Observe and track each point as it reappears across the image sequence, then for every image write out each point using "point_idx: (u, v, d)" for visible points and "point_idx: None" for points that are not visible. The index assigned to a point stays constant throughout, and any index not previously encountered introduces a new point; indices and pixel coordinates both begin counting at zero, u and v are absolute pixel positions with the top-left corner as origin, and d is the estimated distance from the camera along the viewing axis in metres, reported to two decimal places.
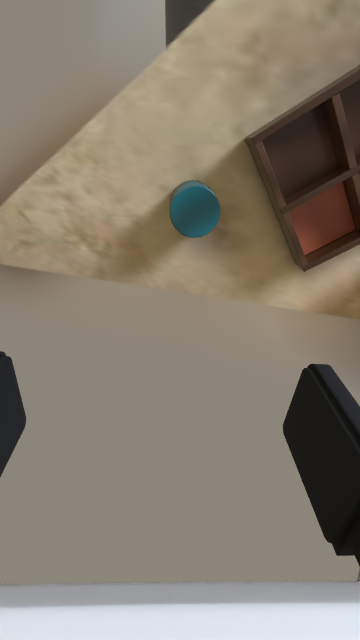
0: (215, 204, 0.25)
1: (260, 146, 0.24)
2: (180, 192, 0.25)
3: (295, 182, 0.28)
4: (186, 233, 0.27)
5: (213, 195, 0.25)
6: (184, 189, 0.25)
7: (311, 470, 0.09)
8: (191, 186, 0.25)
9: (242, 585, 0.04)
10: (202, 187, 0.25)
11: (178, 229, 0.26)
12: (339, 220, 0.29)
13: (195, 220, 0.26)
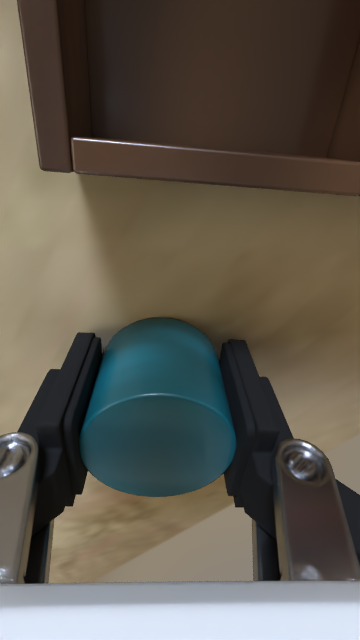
0: (172, 405, 0.07)
1: (87, 153, 0.06)
2: (83, 457, 0.08)
3: (318, 55, 0.07)
4: (193, 486, 0.09)
5: (143, 399, 0.07)
6: (81, 447, 0.08)
7: None
8: (83, 430, 0.08)
9: (242, 585, 0.04)
10: (101, 411, 0.07)
11: (172, 494, 0.09)
12: None
13: (178, 459, 0.08)
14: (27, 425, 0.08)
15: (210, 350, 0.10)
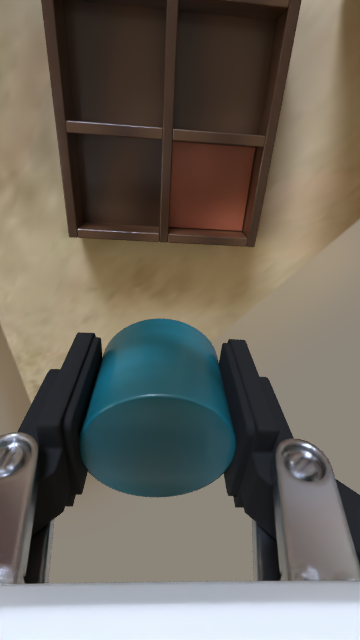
0: (172, 406, 0.07)
1: (81, 232, 0.21)
2: (83, 458, 0.08)
3: (149, 199, 0.22)
4: (193, 486, 0.09)
5: (142, 400, 0.07)
6: (80, 448, 0.08)
7: None
8: (83, 431, 0.08)
9: (242, 585, 0.04)
10: (101, 412, 0.07)
11: (171, 495, 0.09)
12: (228, 165, 0.21)
13: (177, 459, 0.08)
14: (27, 425, 0.08)
15: (210, 351, 0.10)
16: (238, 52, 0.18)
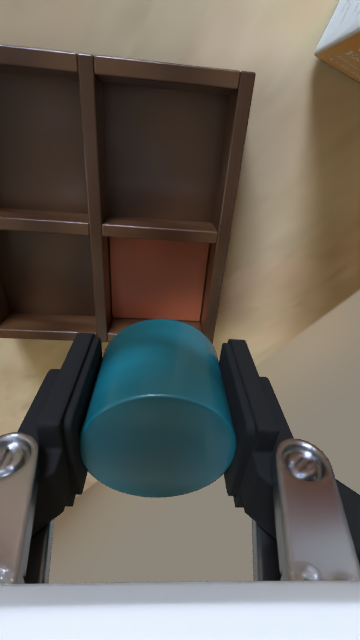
0: (172, 406, 0.07)
1: (1, 333, 0.17)
2: (83, 458, 0.08)
3: (87, 288, 0.18)
4: (193, 486, 0.09)
5: (143, 400, 0.07)
6: (81, 448, 0.08)
7: None
8: (83, 431, 0.08)
9: (242, 585, 0.04)
10: (101, 412, 0.07)
11: (172, 495, 0.09)
12: (179, 253, 0.17)
13: (178, 460, 0.08)
14: (27, 425, 0.08)
15: (210, 351, 0.10)
16: (183, 130, 0.14)
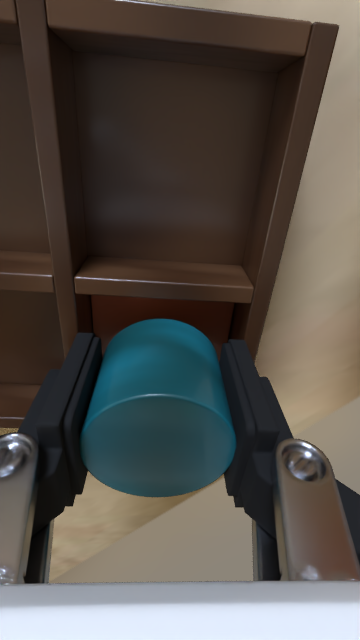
0: (172, 406, 0.07)
1: None
2: (83, 458, 0.08)
3: (62, 351, 0.13)
4: (193, 487, 0.09)
5: (143, 400, 0.07)
6: (81, 447, 0.08)
7: None
8: (83, 431, 0.08)
9: (242, 585, 0.04)
10: (102, 412, 0.07)
11: (172, 494, 0.09)
12: (192, 307, 0.12)
13: (178, 459, 0.08)
14: (27, 425, 0.08)
15: (210, 351, 0.10)
16: (202, 130, 0.09)
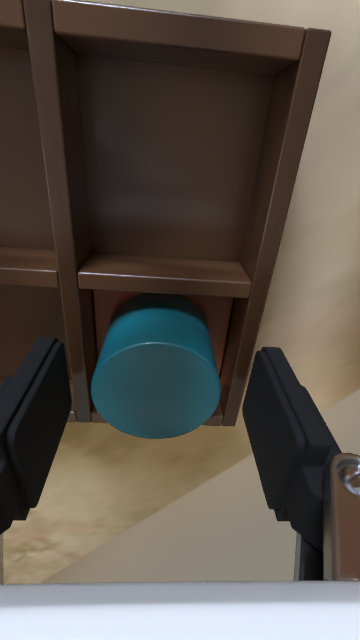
0: (168, 352, 0.09)
1: None
2: (94, 400, 0.10)
3: (65, 346, 0.13)
4: (186, 428, 0.11)
5: (143, 347, 0.09)
6: (92, 391, 0.10)
7: (260, 445, 0.10)
8: (95, 375, 0.10)
9: (242, 585, 0.04)
10: (110, 358, 0.09)
11: (168, 436, 0.11)
12: None
13: (172, 402, 0.10)
14: None
15: (201, 318, 0.12)
16: (201, 131, 0.10)
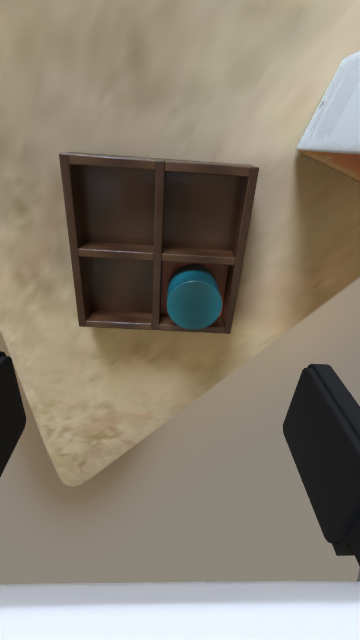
0: (200, 285, 0.22)
1: (89, 323, 0.26)
2: (168, 308, 0.23)
3: (145, 293, 0.27)
4: (206, 324, 0.24)
5: (190, 282, 0.22)
6: (167, 303, 0.23)
7: (311, 470, 0.09)
8: (169, 296, 0.23)
9: (242, 585, 0.04)
10: (176, 288, 0.23)
11: (198, 328, 0.24)
12: None
13: (201, 309, 0.23)
14: None
15: (213, 276, 0.25)
16: (213, 194, 0.23)
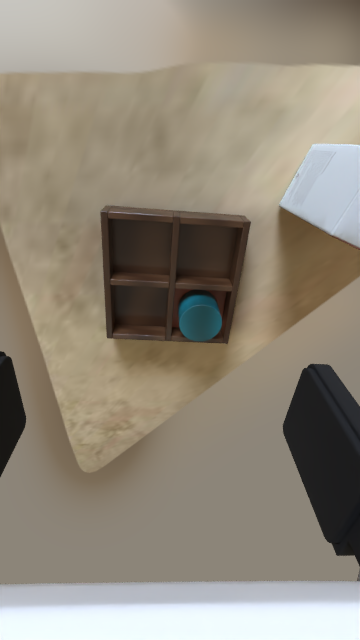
0: (205, 308, 0.29)
1: (115, 336, 0.32)
2: (180, 325, 0.30)
3: (159, 311, 0.33)
4: (209, 337, 0.31)
5: (198, 306, 0.29)
6: (180, 321, 0.30)
7: (311, 470, 0.09)
8: (181, 316, 0.30)
9: (242, 585, 0.04)
10: (187, 310, 0.29)
11: (203, 340, 0.31)
12: None
13: (206, 326, 0.30)
14: None
15: (214, 299, 0.32)
16: (215, 237, 0.30)
